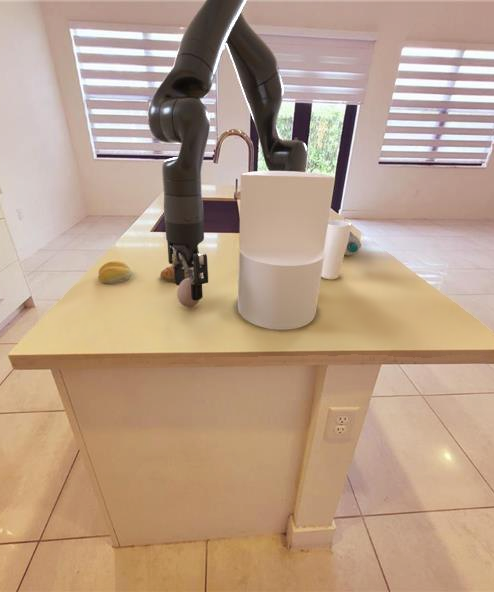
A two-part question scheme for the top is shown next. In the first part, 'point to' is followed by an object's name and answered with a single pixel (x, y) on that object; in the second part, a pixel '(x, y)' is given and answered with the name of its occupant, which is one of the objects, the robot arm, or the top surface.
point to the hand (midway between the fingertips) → (188, 291)
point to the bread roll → (114, 272)
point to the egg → (186, 294)
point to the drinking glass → (335, 248)
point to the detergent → (352, 245)
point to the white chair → (282, 246)
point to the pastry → (171, 274)
